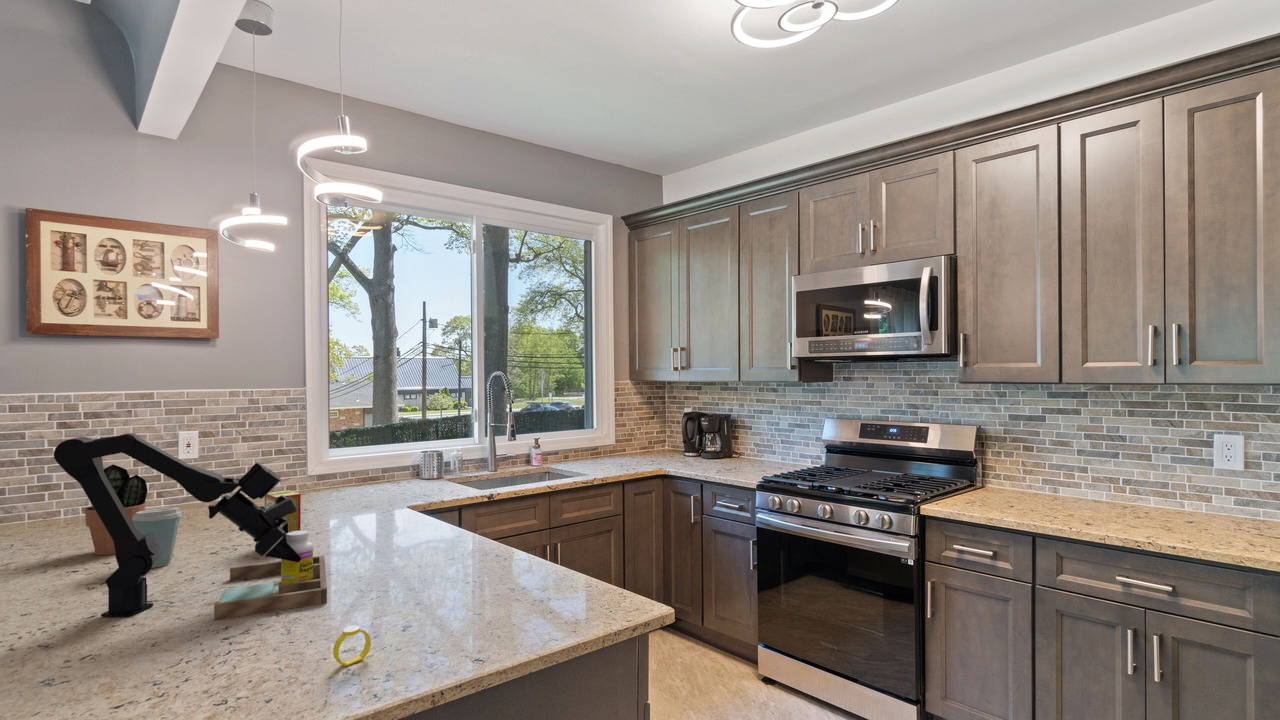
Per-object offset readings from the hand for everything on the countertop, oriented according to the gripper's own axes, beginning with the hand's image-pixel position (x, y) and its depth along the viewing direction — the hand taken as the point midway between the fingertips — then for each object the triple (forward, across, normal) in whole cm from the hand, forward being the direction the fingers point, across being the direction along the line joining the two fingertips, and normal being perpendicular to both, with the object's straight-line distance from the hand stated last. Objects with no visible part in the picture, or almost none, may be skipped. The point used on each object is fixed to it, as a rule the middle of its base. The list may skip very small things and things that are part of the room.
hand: (300, 555), depth 152 cm
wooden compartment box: (+1, 0, +9) cm, 9 cm away
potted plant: (-29, +63, +39) cm, 79 cm away
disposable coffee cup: (-19, +39, +30) cm, 53 cm away
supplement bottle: (+5, 0, +6) cm, 8 cm away
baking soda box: (+2, +43, +9) cm, 44 cm away
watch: (+11, -50, -1) cm, 51 cm away
